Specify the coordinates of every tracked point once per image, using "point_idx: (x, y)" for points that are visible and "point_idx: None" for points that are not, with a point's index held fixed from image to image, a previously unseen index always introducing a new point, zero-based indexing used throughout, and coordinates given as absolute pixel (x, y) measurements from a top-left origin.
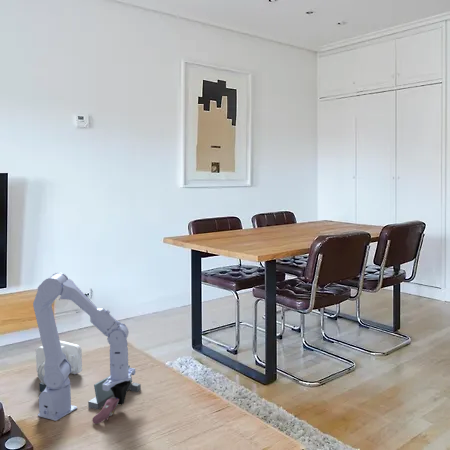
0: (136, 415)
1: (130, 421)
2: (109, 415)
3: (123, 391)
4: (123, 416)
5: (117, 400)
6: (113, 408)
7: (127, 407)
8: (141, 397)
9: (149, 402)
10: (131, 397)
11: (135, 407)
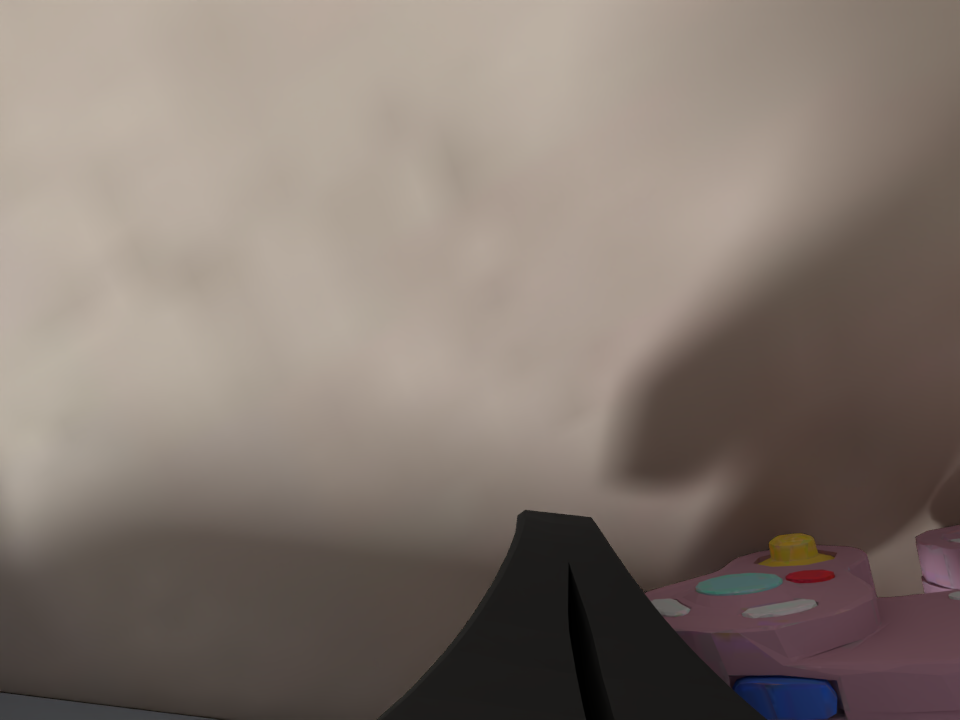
0: (681, 114)
1: (949, 101)
2: (940, 541)
3: (679, 717)
4: (773, 334)
5: (813, 638)
6: (855, 578)
7: (441, 432)
8: (18, 388)
9: (102, 143)
10: (106, 537)
11: (390, 301)
